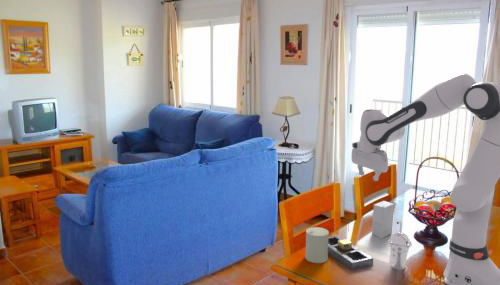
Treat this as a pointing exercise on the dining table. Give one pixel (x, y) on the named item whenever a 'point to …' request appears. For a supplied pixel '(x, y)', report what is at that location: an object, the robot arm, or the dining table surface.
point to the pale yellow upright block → (344, 245)
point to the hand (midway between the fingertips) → (368, 177)
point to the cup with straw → (399, 248)
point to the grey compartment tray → (349, 255)
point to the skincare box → (382, 219)
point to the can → (316, 245)
